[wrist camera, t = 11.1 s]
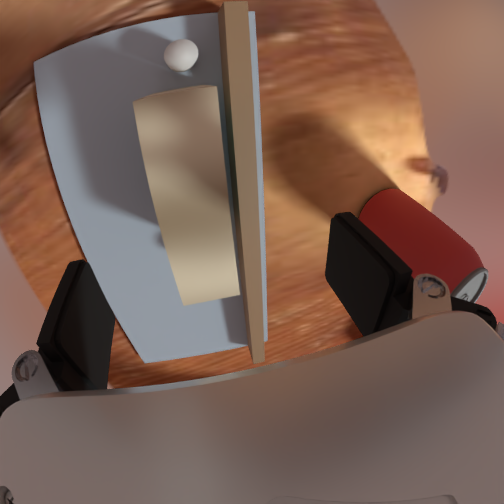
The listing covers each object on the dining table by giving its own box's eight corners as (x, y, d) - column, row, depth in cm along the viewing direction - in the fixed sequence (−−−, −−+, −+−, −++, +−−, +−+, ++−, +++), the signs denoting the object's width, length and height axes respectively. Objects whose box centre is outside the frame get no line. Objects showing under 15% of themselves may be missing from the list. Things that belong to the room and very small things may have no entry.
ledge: (265, 334, 30) (276, 366, 27) (144, 355, 28) (145, 390, 24) (250, 14, 12) (272, -3, 9) (40, 62, 10) (5, 62, 6)
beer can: (348, 250, 26) (420, 344, 16) (358, 187, 22) (459, 276, 12) (398, 239, 27) (469, 316, 17) (411, 183, 23) (503, 255, 13)
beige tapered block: (221, 226, 20) (241, 294, 14) (178, 234, 19) (182, 305, 14) (203, 84, 14) (218, 85, 8) (151, 93, 13) (131, 101, 8)
